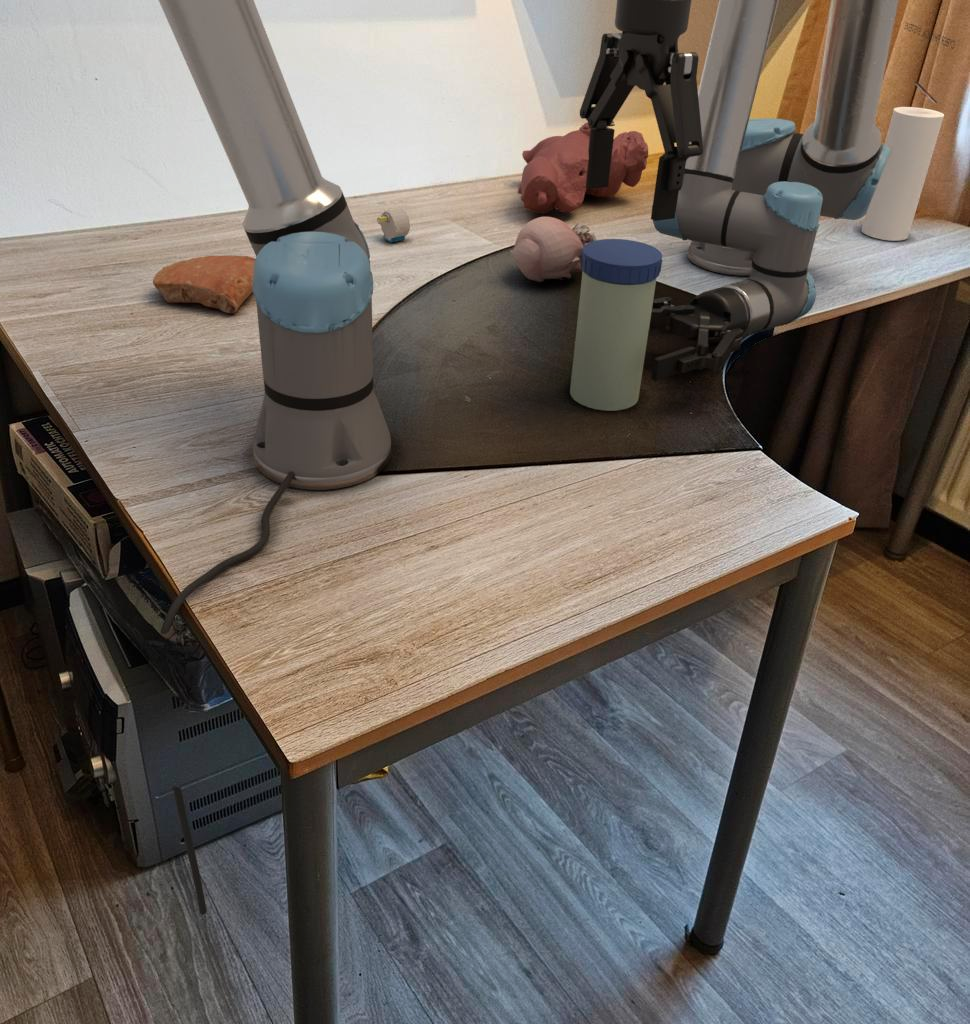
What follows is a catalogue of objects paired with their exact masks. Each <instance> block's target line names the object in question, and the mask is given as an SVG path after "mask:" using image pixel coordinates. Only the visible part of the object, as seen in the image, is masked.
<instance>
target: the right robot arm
mask: <svg viewBox="0 0 970 1024" xmlns="http://www.w3.org/2000/svg"><path fill="white" fill-rule="evenodd" d="M899 1H900V0H830V5H829V13H828V19H827V27H826V36H825V42H824V51H823V58H822V65H821V72H820V79H819V80H820V81H819V87H818V95H817V101H816V109H815V116H814V118H815V119H814V121H813V122H812V123H811V124H810V125H808V126H807V128H806V129H805V130H804V133H799V132H796V130H797V127H796V123H795V122H794V121H793V120H791V119H789V120H788V119H784V118H775V117H774V118H770V117H769V118H767V117H766V118H763V117H761V118H751V117H750V116H751V113H752V109H753V105H754V101H755V98H756V95H757V94H756V93H757V90H758V86H759V82H760V77H761V73H762V68H763V66H764V62H765V57H766V54H767V50H768V47H769V43H770V38H771V35H772V34H771V33H772V30H773V26H774V22H775V18H776V14H777V11H778V6H779V3H780V0H719V1H718V5H717V9H716V12H715V13H716V14H715V17H714V21H713V26H712V30H711V35H710V39H709V44H708V47H707V52H706V56H705V61H704V65H703V69H702V73H701V77H700V81H699V86H698V99H699V110H700V120H701V131H702V141H703V153H702V154H701V155H700V156H693V157H689V158H688V159H687V161H686V165H685V172H684V176H683V177H684V178H683V184H682V187H681V190H679V193H678V200H677V206H676V213H675V218H673V219H666V220H658V221H654V220H652V224H653V226H654V229H655V230H656V231H657V232H658V234H660V235H661V234H662V235H665V236H669V237H672V238H678V239H681V240H682V241H690V244H689V246H688V251H687V258H688V260H689V261H690V262H691V263H693V264H694V265H696V266H697V267H699V268H702V269H704V270H707V271H710V272H714V273H718V274H722V275H723V274H724V275H730V276H739V277H740V276H743V277H745V276H747V277H748V278H746V279H743V280H740V281H737V282H733V283H729V284H724V285H722V286H720V287H716V288H712V289H709V290H706V291H702V292H701V293H699V294H698V295H696V296H695V297H694V298H693V300H691V301H690V303H689V304H683V305H677V306H676V305H673V303H672V302H673V298H672V297H670V296H664V297H659V298H653V305H652V312H651V318H650V325H649V330H658V331H659V333H661V334H668V335H669V334H670V335H677V336H680V337H682V338H683V339H685V340H687V341H690V340H691V341H695V346H692V345H690V346H687V347H684V348H681V349H678V350H675V351H672V352H670V353H666V354H663V355H661V356H657V357H655V358H654V359H653V365H652V370H651V378H650V379H651V380H652V381H654V382H657V381H660V380H663V379H667V378H669V377H671V376H672V377H673V376H675V375H677V374H680V373H681V374H683V373H688V372H691V371H693V370H699V371H702V370H705V369H707V370H709V371H708V373H710V374H712V375H718V374H719V373H720V372H721V371H722V369H723V368H724V366H725V365H726V363H727V361H728V360H729V358H730V357H731V356H732V353H734V352H737V351H739V350H740V349H741V346H742V341H743V338H746V337H749V336H751V335H755V334H758V333H761V332H764V331H767V330H771V329H774V328H777V327H782V326H785V325H788V324H791V323H793V322H794V321H796V320H798V319H801V318H802V317H804V316H805V315H807V314H808V313H809V312H810V311H811V310H812V308H813V307H814V305H815V302H816V300H817V299H816V298H817V291H816V285H815V284H816V283H815V280H814V277H812V275H811V274H810V273H809V271H808V268H809V264H810V262H811V261H810V260H811V257H812V253H813V248H814V245H815V242H816V236H817V234H818V230H819V226H820V223H819V222H820V216H821V217H826V218H831V219H834V220H840V219H841V220H850V221H857V220H861V219H862V218H863V217H865V215H866V212H867V210H868V207H869V205H870V202H871V200H872V197H873V195H874V192H875V190H876V187H877V184H878V182H879V179H880V177H881V174H882V172H883V169H884V167H885V164H886V162H887V159H888V156H889V154H890V148H889V147H887V146H885V145H884V144H885V143H884V144H882V138H883V137H882V132H881V130H880V129H879V127H878V125H876V124H875V123H876V117H877V112H878V107H879V102H880V96H881V92H882V86H883V81H884V76H885V72H886V67H887V62H888V56H889V53H890V46H891V40H892V37H893V30H894V27H895V20H896V15H897V11H898V4H899ZM689 144H691V142H689ZM669 317H670V320H669V326H666V325H667V319H668V318H669ZM576 329H577V326H576V327H575V330H576ZM574 338H575V339H576V336H575V337H574ZM575 339H574V340H575ZM709 347H710V348H714V350H713V351H712V353H709V351H708V350H709Z"/></svg>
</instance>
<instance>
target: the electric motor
mask: <svg viewBox="0 0 970 1024" xmlns="http://www.w3.org/2000/svg"><path fill="white" fill-rule="evenodd" d="M376 222H377V224H378V225H380V227H381V231H382V233H383V238H384V240H385V241H388V242H389V243H394V242H395V243H396V242H399V241H404V240H405V238H406V236H407V235H409V233H410V229H411V222H410V218H409V216H408V213H407V212H406V210H404V209H403V208H397V209H392V210H387V211H384V212H383V213H382V214H381V216H378V217H377V218H376Z"/></svg>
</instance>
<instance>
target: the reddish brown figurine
mask: <svg viewBox="0 0 970 1024" xmlns="http://www.w3.org/2000/svg"><path fill="white" fill-rule="evenodd" d="M607 128H610V126H609V127H607ZM607 128H606V129H607ZM589 138H590V128H589V126H588V122H585V123H584V124H581V126H580V127H579V129H576V130H573V131H570V132H568V133H566V134H565V135H554V136H549V137H546V138H544V139H542V140H540V141H539V142H538V143H536V145H535V146H534V147H532V148H531V149H529V150H523V151H522V153H521V156H522V158H523V160H524V162H525V163H526V164H525V166H524V168H523V170H522V172H521V173H522V174H521V180H520V181H521V182H520V185H519V186H518V189H517V194H518V195H520V200H521V202H522V203H523V207H524V209H525V210H529V211H530V212H532V213H535V214H546V213H549V212H551V211H552V210H553V209H554V208H555V209H556V210H557V211H559V212H560V213H564V214H569V213H573V212H575V211H578V209H579V208H581V206H582V203H584V199H585V195H591V196H593V197H596V198H599V197H604V198H606V197H608V198H610V197H613V196H614V195H617V194H618V192H619V191H620V189H621V186H622V184H624V185H625V186H627V187H631V188H635V187H636V186H637V185H638V184H639V183H640V181H641V178H642V174H643V171H645V170H646V169H647V164H648V161H647V160H648V157H649V146H648V143H647V142H646V141H645V139H644V135H643V134H642V132H638V131H636V130H631V131H628V132H627V131H624V132H621V133H618V135H617V136H614V140H613V148H612V157H611V166H610V175H609V183H608V187H602V188H594V189H588V188H586V180H587V170H588V160H589V153H588V148H589Z"/></svg>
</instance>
